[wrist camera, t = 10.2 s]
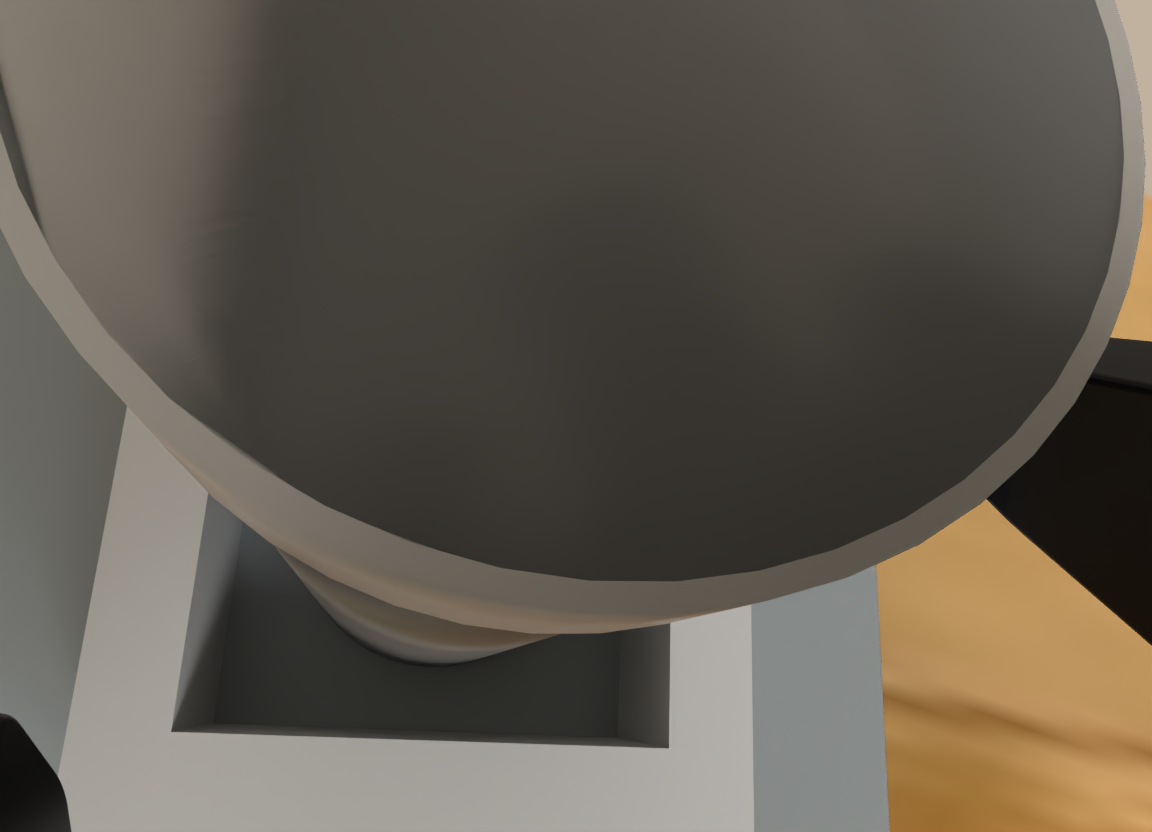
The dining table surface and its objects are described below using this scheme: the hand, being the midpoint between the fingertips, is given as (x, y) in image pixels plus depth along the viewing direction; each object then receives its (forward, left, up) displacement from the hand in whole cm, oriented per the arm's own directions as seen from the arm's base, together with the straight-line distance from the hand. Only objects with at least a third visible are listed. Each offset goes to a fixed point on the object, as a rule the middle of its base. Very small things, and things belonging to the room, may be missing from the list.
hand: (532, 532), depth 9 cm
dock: (+1, +1, -8) cm, 8 cm away
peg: (+1, +1, -7) cm, 7 cm away
